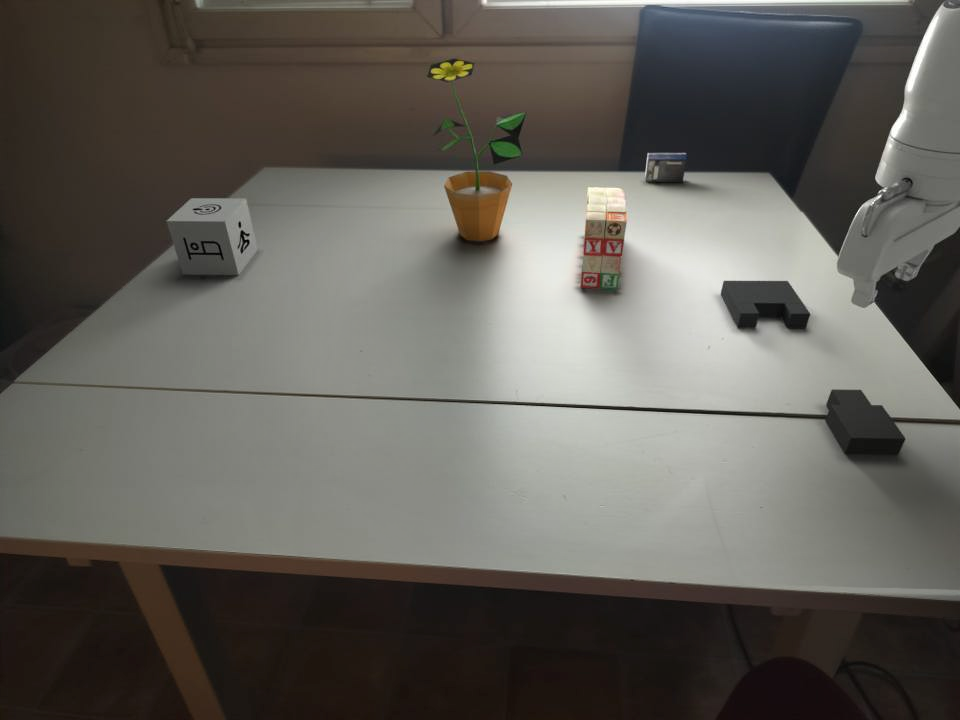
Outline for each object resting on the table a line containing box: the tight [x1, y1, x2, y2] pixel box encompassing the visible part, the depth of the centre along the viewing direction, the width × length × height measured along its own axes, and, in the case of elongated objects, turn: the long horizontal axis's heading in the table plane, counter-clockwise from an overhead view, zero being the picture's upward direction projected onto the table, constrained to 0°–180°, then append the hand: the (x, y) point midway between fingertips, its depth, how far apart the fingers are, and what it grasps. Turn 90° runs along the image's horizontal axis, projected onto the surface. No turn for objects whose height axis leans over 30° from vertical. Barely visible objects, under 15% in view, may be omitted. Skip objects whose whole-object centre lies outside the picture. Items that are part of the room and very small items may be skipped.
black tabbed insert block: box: [824, 388, 906, 456], centre depth 80 cm, size 6×9×2 cm, turn 177°
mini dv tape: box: [644, 152, 688, 183], centre depth 147 cm, size 8×2×6 cm, turn 86°
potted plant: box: [426, 58, 527, 242], centre depth 119 cm, size 18×19×30 cm
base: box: [720, 280, 811, 329], centre depth 102 cm, size 10×10×2 cm
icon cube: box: [166, 197, 259, 276], centre depth 117 cm, size 10×10×10 cm
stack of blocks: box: [580, 187, 628, 291], centre depth 114 cm, size 21×6×12 cm, turn 171°
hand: (883, 290), depth 74 cm, fingers open, 8 cm apart
